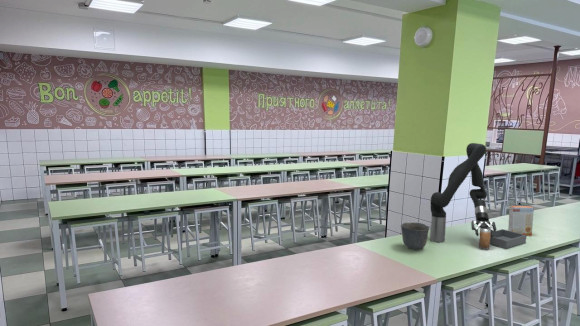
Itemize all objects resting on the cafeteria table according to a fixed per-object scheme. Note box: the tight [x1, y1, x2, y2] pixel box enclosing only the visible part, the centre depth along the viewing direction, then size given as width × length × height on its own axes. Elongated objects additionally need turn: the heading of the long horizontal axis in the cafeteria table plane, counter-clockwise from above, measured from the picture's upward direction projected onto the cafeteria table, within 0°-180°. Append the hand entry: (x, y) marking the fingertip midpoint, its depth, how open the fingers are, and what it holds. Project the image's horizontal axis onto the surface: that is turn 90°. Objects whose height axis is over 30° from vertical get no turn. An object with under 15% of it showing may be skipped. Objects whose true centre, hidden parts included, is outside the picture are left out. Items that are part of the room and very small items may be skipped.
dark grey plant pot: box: [400, 222, 431, 250], centre depth 229 cm, size 18×18×15 cm
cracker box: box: [508, 205, 534, 237], centre depth 258 cm, size 14×6×21 cm, turn 84°
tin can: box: [478, 228, 491, 251], centre depth 230 cm, size 6×6×13 cm
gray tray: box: [490, 228, 527, 250], centre depth 241 cm, size 24×16×6 cm, turn 120°
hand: (485, 236), depth 229 cm, fingers open, 8 cm apart
